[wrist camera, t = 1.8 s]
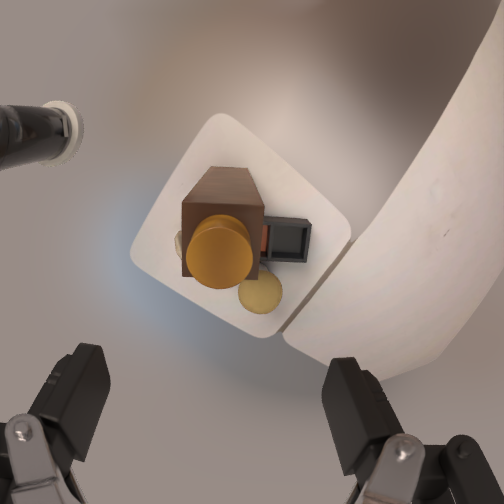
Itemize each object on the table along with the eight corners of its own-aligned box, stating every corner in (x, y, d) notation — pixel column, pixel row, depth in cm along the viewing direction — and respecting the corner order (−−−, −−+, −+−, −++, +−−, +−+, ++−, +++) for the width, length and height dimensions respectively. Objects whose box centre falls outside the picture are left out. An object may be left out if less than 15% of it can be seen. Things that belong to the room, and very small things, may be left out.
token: (192, 267, 21) (186, 287, 19) (192, 213, 20) (185, 225, 17) (248, 270, 22) (250, 290, 19) (252, 215, 20) (255, 229, 17)
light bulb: (232, 282, 51) (232, 314, 42) (245, 248, 49) (248, 275, 40) (267, 293, 52) (274, 326, 43) (282, 261, 50) (292, 289, 41)
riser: (209, 202, 46) (182, 276, 22) (210, 166, 44) (181, 201, 20) (245, 203, 46) (257, 280, 22) (247, 168, 44) (264, 205, 20)
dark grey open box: (230, 251, 49) (230, 259, 46) (232, 214, 47) (232, 219, 44) (302, 255, 50) (306, 262, 47) (307, 218, 48) (311, 224, 45)
